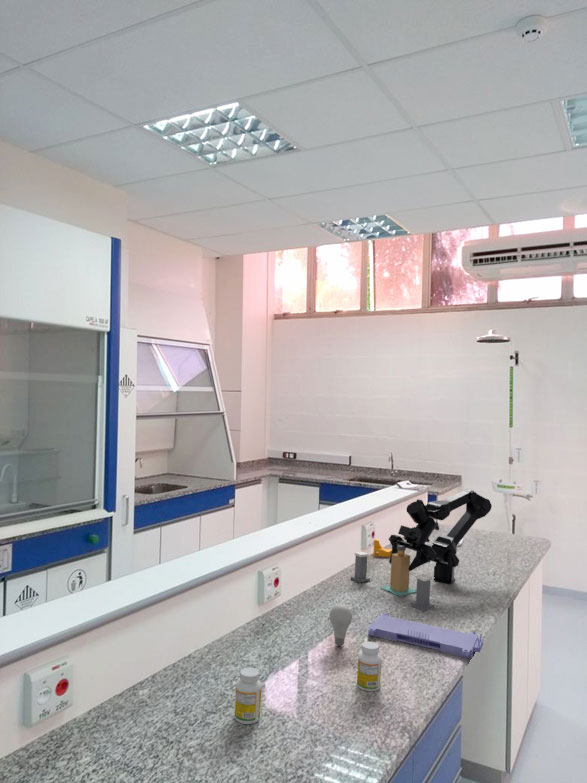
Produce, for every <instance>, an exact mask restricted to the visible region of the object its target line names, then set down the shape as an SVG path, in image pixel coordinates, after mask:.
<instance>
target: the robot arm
mask: <svg viewBox="0 0 587 783" xmlns="http://www.w3.org/2000/svg"><path fill="white" fill-rule="evenodd" d="M464 505H465V512H464V513H463V515H462V516H461V517H460V518H459V520H457V522H456V523H455V525H454V526H453V527H452V528H451V530H450V531H449V532H448V533H447V535H446V536H444V537H443V536H440V535H439V536H437V537H436V539H435V540H434V541H433V542H432V545H430V544H429V545H428V544H426V543H430V541H431V540H430V539H429V538H430V536H431V534H432V533H433V532H434V530H435V531H439V530H440V525H439V522H437V521H445V520H446V519H447V518H448V517H449V516H450V514H451V513H452V512H453V511H454V510H456V509H458V508H460V507H462V506H464ZM405 510H406V512H407V514H408V515H409V517H410V518H411V519H412V521H413V522H414V523H415V524H416V525H415V526H413V527H409V526H405V525H400V528H399V529H398V532H397V534H398V535H397V534H390V536H389V537H388V541H389V544H391V549H392V552H391V556H389V559H388V560H389V561H388V562H389V564H390V565H391V559H392V554H395V553H398V549H397V546H398V545H403V546H406V549H408V550H412V551H414V552H415V556H414V557H413V559H412V561H411V562H410V566H409V568H408V570H409V572H412V571H414V570H415V569H418V568H419V567H420V566H422V565H425V564H427V563H431V562H434V563H435V565H434V566H433V581H435V582H441V583H446V584H452V583H453V582H454V581H455V580H456V577H455V568H456V567H458V566H459V564H460V559H459V557H458V556H457V551H458V550H457V547H458V545H459V543H460V542H461V540H463V538H465V535H466V534H467V533H468V532H469V531H470V529H471V528H472V527H473V525H474V524H475V523H476V522H477V520H480V519H482V518H484V517H486V516H487V515H488V514H489V513H490V512H491V510H492V503H491V500H490V499H488V498H486V497H483V496H482V495H479V493H477V492H476V491H474V490H470V489H467V488H466V489H465V488H464V489H461V491H459V492H457V493H455V494H453V495H451V496H449V497H447V498H445V499H443V500H442V499H441V500H433V501H429V502H427V503H426V504H425V503H424V501H423V500H422V499H418V498H417V499H416V501H412V502H411V503H410V504H408V505H407V507H406V509H405ZM435 520H437V521H435ZM400 535H401V536H400ZM402 536H403V538H402Z"/></svg>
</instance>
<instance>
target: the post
mask: <svg viewBox="0 0 587 783" xmlns="http://www.w3.org/2000/svg"><path fill="white" fill-rule="evenodd" d="M415 579H416V590H417V592H416V593H415V594H416V597H415V601H411V603H410V604H411V606H412V607H414V608H417V609H418V610H422V611H427V610H431V609H434V605H435V604H433V603H431V602H430V599H431V598H430V596H431V580H432V579H433V576H429V575H428V574H427V575H426V574H424V573H423V574H418V575H415Z"/></svg>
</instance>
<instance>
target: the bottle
mask: <svg viewBox="0 0 587 783" xmlns="http://www.w3.org/2000/svg"><path fill="white" fill-rule="evenodd" d="M397 549H398V553H395V554H392V559H391V564H390V583H389V584H390V585H389V586H390V588H391V589H393V590H395V591H398V592H402V591H407V590H409V588H410V571H409V570H408V568H409V566H410V564H411V555H409V554H406V553H405V551H406V549H407V548H406V546H403V545H398V546H397Z"/></svg>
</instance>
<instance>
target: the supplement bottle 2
mask: <svg viewBox="0 0 587 783" xmlns="http://www.w3.org/2000/svg"><path fill="white" fill-rule="evenodd" d="M379 652H380V645H379V644H378V643H377V642H374V641H364V642H362V644H361V651H360V652H359V654H358V658H357V678H356V685H357V687H358V688H359V689H361V691H365V692H377V691H378V690H379V689H380V688H381V680H382V679H381V678H382V677H381V676H382V674H381V673H382V656H381V653H379Z"/></svg>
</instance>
